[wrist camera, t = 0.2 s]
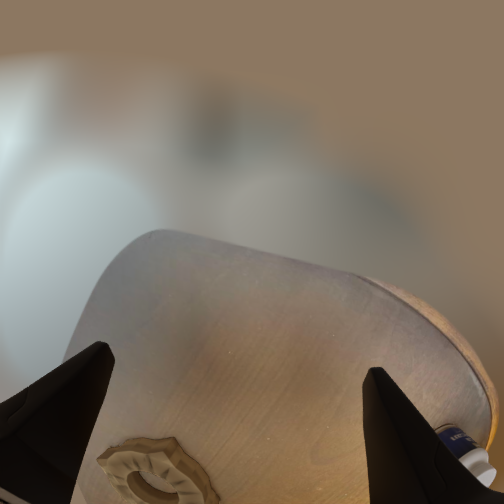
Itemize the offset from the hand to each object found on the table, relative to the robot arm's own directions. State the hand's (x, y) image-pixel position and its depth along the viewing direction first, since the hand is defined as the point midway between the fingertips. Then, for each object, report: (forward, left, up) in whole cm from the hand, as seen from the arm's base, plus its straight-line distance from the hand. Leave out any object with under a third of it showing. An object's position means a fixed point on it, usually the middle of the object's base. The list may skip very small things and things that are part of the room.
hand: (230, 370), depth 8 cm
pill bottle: (-23, -11, -15) cm, 30 cm away
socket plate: (-13, +19, -15) cm, 27 cm away
